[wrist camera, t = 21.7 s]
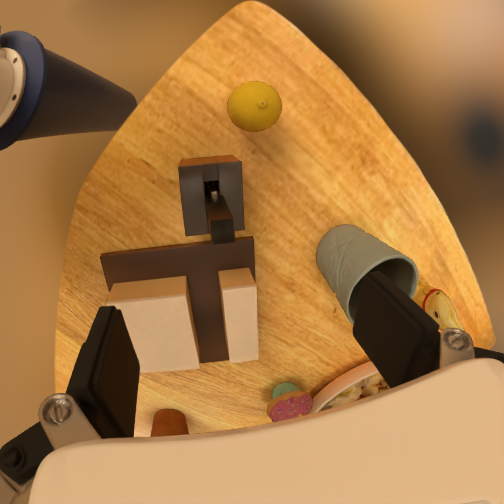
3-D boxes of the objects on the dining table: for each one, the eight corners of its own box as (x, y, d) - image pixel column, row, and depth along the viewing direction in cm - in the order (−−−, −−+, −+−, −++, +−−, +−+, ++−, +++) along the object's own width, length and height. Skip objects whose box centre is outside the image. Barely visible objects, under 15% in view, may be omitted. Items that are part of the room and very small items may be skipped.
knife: (202, 176, 34) (209, 214, 19) (215, 175, 34) (233, 212, 20) (204, 197, 35) (212, 250, 20) (217, 196, 35) (235, 248, 21)
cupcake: (296, 369, 50) (318, 420, 39) (310, 390, 54) (331, 436, 43) (254, 389, 50) (269, 441, 39) (272, 408, 54) (288, 456, 43)
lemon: (221, 88, 30) (230, 76, 23) (268, 86, 31) (290, 75, 23) (225, 133, 32) (234, 134, 25) (271, 130, 33) (293, 131, 26)
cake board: (101, 253, 35) (99, 256, 34) (252, 236, 38) (253, 238, 37) (136, 364, 43) (136, 368, 42) (256, 351, 46) (258, 355, 45)
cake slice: (218, 270, 38) (222, 290, 33) (248, 267, 38) (256, 286, 34) (225, 341, 43) (230, 364, 38) (252, 337, 43) (258, 359, 39)
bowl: (271, 432, 58) (279, 459, 51) (350, 339, 50) (370, 367, 42) (358, 432, 68) (369, 452, 61) (429, 357, 60) (446, 377, 53)
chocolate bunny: (423, 265, 46) (479, 308, 33) (426, 306, 51) (472, 350, 38) (395, 283, 46) (448, 333, 33) (401, 324, 51) (444, 373, 38)
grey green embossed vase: (379, 230, 41) (430, 264, 31) (353, 288, 45) (393, 333, 34) (325, 211, 38) (372, 245, 28) (298, 277, 42) (332, 328, 31)
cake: (113, 283, 36) (104, 304, 31) (186, 275, 37) (185, 296, 33) (135, 350, 41) (131, 373, 36) (198, 345, 42) (200, 368, 38)
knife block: (181, 159, 32) (178, 166, 26) (232, 154, 33) (241, 161, 27) (186, 216, 35) (185, 236, 29) (235, 211, 36) (244, 230, 30)
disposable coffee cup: (149, 399, 47) (147, 453, 36) (198, 408, 50) (204, 460, 39) (143, 424, 50) (142, 472, 39) (187, 431, 53) (191, 478, 42)
